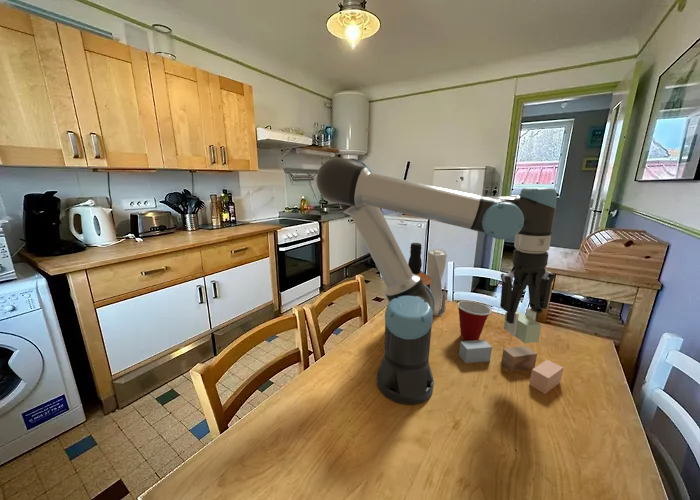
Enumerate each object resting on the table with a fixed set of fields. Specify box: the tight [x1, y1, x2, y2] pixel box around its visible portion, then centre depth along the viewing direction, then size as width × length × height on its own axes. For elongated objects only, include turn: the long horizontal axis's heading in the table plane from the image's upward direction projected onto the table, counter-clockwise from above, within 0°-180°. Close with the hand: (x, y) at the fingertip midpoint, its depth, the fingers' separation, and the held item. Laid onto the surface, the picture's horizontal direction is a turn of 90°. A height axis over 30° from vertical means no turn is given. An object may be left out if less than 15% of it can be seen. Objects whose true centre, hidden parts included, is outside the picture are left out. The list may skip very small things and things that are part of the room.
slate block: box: [458, 339, 493, 364], centre depth 88 cm, size 8×4×5 cm, turn 97°
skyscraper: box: [426, 248, 448, 318], centre depth 115 cm, size 8×8×28 cm
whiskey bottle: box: [407, 242, 432, 289], centre depth 103 cm, size 10×10×32 cm
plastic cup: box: [457, 300, 492, 341], centre depth 98 cm, size 11×11×12 cm
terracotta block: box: [528, 359, 564, 395], centre depth 77 cm, size 8×4×5 cm, turn 121°
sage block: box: [503, 310, 542, 344], centre depth 77 cm, size 8×4×5 cm, turn 9°
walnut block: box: [501, 345, 538, 373], centre depth 84 cm, size 8×4×5 cm, turn 101°
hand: (520, 332), depth 78 cm, fingers closed on sage block, 4 cm apart
